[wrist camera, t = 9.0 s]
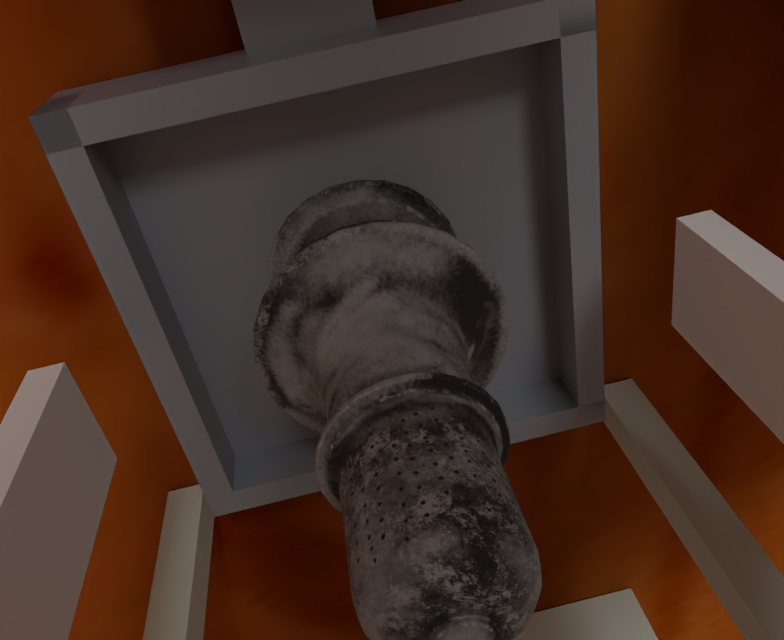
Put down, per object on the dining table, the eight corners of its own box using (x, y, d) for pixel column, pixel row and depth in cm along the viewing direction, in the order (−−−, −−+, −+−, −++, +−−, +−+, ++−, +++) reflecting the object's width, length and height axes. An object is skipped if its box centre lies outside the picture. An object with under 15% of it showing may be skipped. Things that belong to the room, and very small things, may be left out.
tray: (-55, -169, 13) (-167, -194, 10) (543, -295, 14) (632, -360, 10) (219, 463, 22) (209, 563, 19) (576, 376, 23) (629, 459, 19)
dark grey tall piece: (223, 325, 19) (168, 815, 9) (308, 129, 16) (371, 486, 6) (410, 386, 21) (544, 842, 11) (510, 220, 19) (803, 601, 8)
